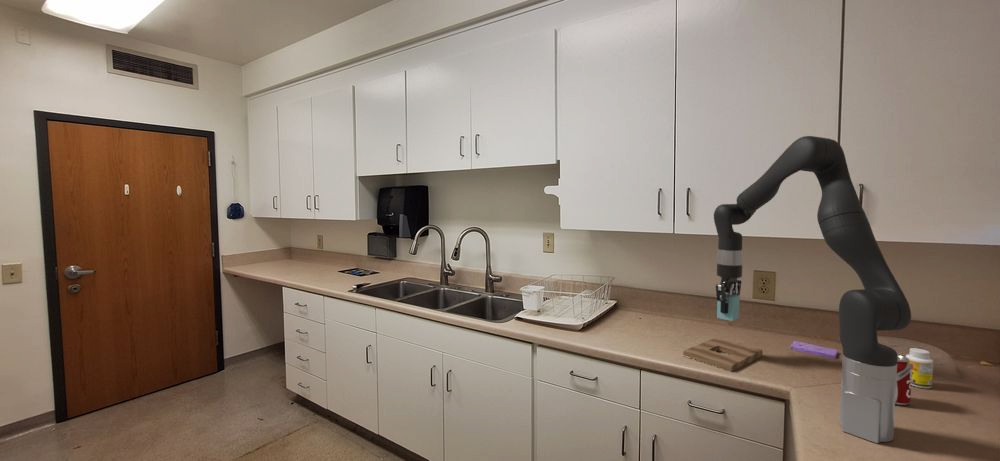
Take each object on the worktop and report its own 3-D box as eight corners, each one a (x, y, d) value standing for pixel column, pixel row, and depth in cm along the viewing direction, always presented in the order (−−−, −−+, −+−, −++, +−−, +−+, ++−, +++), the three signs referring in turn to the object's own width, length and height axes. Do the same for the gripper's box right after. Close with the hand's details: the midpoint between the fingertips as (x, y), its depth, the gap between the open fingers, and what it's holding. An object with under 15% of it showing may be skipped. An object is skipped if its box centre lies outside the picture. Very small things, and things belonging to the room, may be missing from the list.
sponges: (794, 345, 149) (795, 340, 149) (838, 354, 139) (838, 349, 139) (789, 350, 144) (790, 345, 144) (834, 360, 135) (835, 354, 135)
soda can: (873, 392, 111) (875, 350, 110) (908, 399, 107) (910, 355, 106) (875, 401, 106) (878, 357, 105) (912, 409, 102) (914, 363, 101)
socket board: (731, 371, 126) (731, 365, 126) (683, 356, 139) (683, 350, 139) (762, 355, 138) (762, 350, 138) (715, 342, 151) (715, 337, 151)
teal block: (732, 321, 134) (733, 297, 133) (716, 317, 138) (717, 294, 137) (739, 318, 137) (739, 295, 136) (723, 314, 141) (724, 292, 140)
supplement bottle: (899, 379, 119) (901, 345, 118) (924, 382, 117) (926, 348, 116) (910, 387, 114) (912, 352, 113) (936, 390, 111) (938, 355, 111)
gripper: (731, 266, 128) (729, 318, 130) (750, 261, 137) (749, 310, 138) (707, 263, 134) (706, 313, 136) (727, 259, 143) (726, 305, 144)
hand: (728, 311), depth 137 cm, fingers closed on teal block, 5 cm apart
